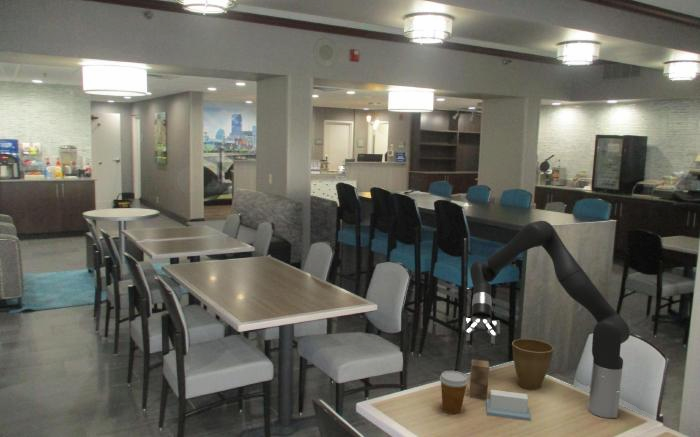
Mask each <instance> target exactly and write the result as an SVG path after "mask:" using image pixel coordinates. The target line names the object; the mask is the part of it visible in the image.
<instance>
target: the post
mask: <svg viewBox="0 0 700 437" xmlns="http://www.w3.org/2000/svg"><path fill="white" fill-rule="evenodd" d="M489 372H490V363H489V360H480V359H471V366H470V375H469V377H470V378H469V390H468V391H469V398H470V399H472V398H473V399H478V400H484V401H485V400H486V399H488V389H489V375H490V374H489Z"/></svg>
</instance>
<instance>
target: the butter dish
mask: <svg viewBox="0 0 700 437" xmlns="http://www.w3.org/2000/svg"><path fill="white" fill-rule="evenodd" d="M489 394H490V395H489V398H487V399H486V401H485V403H486V404H485V405H486V415H487V416H492V417H500V418H506V419H515V420H522V421H531V419H532V417H531V413H530V407H529V404H528V403H529V396H528V395H527V393H520V392H511V391H504V390H498V389H497V390H496V389H490V393H489Z"/></svg>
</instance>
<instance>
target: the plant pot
mask: <svg viewBox="0 0 700 437" xmlns="http://www.w3.org/2000/svg"><path fill="white" fill-rule="evenodd" d="M511 347H512V355H513V364H514V368H515V374H516V376H517V377H516V378H517V380H518V384H519V385H520V386H521V387H522V388H524V389H529V390H538V389H540V387H541V385H543V382H544V380H545V378H546V376H547V373H548V370H549V367H550V364H551V361H552V358H553V355H554V354H553V352H554V349H555V348H554V346H553V345H551V344H550V343H548V342H546V341H542V340H538V339H533V338H519V339H515V340H513V341H512V343H511Z"/></svg>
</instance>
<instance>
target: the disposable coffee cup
mask: <svg viewBox="0 0 700 437" xmlns="http://www.w3.org/2000/svg"><path fill="white" fill-rule="evenodd" d="M439 381H440V385H441V386H440V387H441V389H440V390H441V404H442V405H441V406H442V411H444V412H446V413H449V414H459V413H461V412H462V408H463V403H464V400H465V394H466V388H467V385H468V384H469V379H468V376H467V375H466V374H464V373H463V372H461V371H457V370H456V371H455V370H445V371H442V373H441V374H440V376H439Z"/></svg>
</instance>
